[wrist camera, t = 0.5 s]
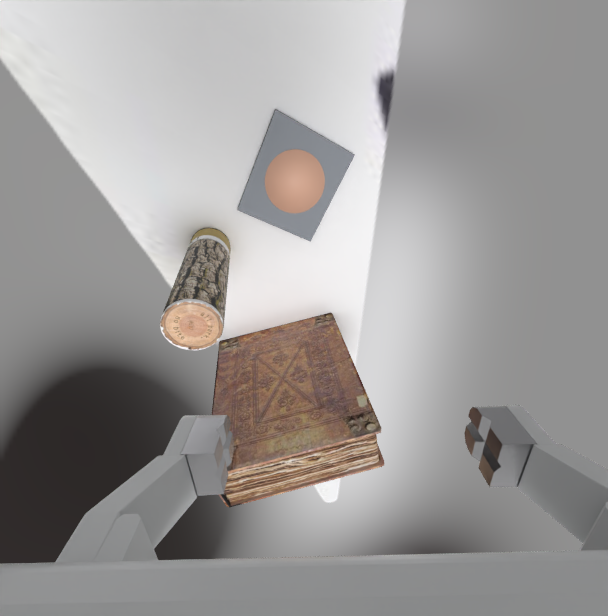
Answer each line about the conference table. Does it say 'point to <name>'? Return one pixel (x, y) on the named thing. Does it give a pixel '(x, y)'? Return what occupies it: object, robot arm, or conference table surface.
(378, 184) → the conference table surface
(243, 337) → the book
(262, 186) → the card
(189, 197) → the conference table surface
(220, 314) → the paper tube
